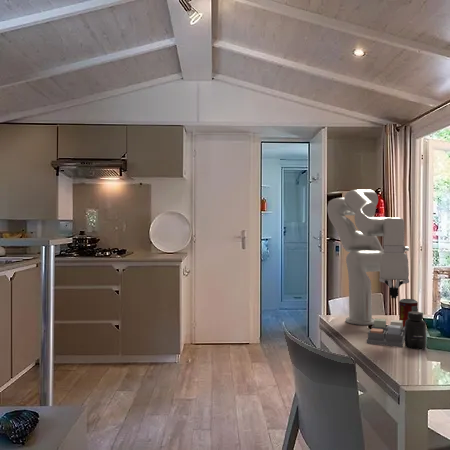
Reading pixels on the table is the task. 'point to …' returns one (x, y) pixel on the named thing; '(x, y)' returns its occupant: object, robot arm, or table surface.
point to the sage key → (380, 323)
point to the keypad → (386, 337)
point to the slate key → (394, 330)
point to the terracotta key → (376, 330)
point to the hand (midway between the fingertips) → (394, 297)
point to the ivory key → (397, 323)
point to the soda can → (407, 308)
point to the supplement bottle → (415, 331)
